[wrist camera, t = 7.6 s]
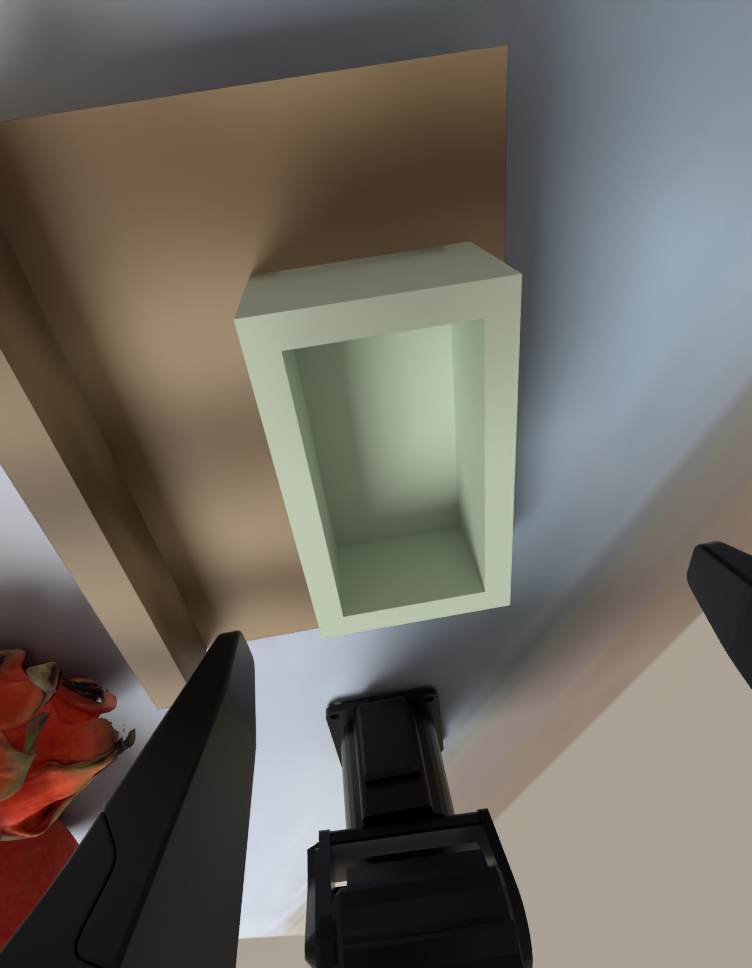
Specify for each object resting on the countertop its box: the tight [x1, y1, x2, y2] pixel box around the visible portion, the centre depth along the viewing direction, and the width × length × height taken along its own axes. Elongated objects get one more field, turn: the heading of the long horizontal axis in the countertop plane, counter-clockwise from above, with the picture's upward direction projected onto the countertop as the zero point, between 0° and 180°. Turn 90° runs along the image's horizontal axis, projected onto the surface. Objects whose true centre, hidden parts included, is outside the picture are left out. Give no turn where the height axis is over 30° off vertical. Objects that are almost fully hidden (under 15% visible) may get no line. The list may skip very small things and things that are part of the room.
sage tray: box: [234, 241, 522, 639], centre depth 15 cm, size 10×6×4 cm, turn 7°
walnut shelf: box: [0, 45, 507, 710], centre depth 17 cm, size 18×14×6 cm
